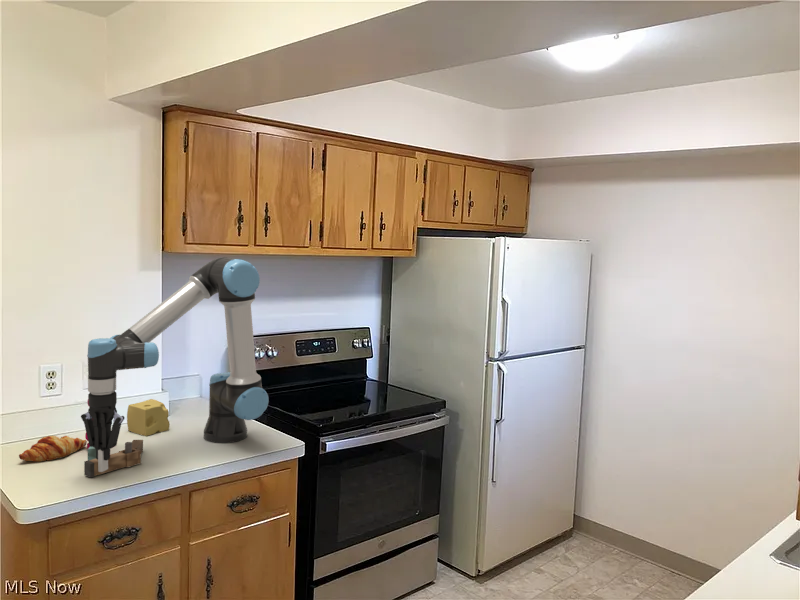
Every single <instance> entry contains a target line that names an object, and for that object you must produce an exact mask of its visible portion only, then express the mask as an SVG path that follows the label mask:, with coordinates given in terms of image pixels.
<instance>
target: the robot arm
mask: <svg viewBox="0 0 800 600" xmlns="http://www.w3.org/2000/svg"><path fill="white" fill-rule="evenodd" d="M258 271H259V270H258V269H257V267H255V266H254V265H253V264H252V263H251V262H249V261H247V260H244V259H241V258H230V257H225V256H224V257H218V258H214V259H212V260H211V261H209V262H207V263H206V264H204V265H203V266H202V267H200V268H199V269H198V270H196V271H195V272H194V273H193V274H192V275H190V276H189V279H188V281H187V282H186V283H185V284H184V285H183V286H181V287H180V288H179V289H177V290H176V291H175V292H174V293H172V294H171V295H170V296H168V297H167V298H166V299H165V300H163V301H162V302H161V303H159V304H158V305H157V306H156V307H154V308H153V309H151V310H150V311H149V312H148V313H147V314H146V315H144V316H143V317H142V318H140V319H139V320H138V321H137V322H135V323H134V324H132V326H130V327H129V328H127V329H126V330H125V331H124V332H122V333H121V334H114V335H112V336H111V337H110V338H108V337H106V338H103V337H102V338H94V339H91V340H90V341H89V342H88V344H87V355H86V356H87V372H88V373H87V374H88V376H87V391H88V392H89V393H88V394H87V395H88V396H87V402H88V403H87V406H88V405H89V406H90V407H89V406H88V407H89V408H88V410H87V412H85V413H83V414H81V415H80V418H81V420H82V421H83V424H84V428H85V434H86V433H87V437H88V441H87V443H89V446H90V447H94V448H95V449H96V459H97V460H98V472H104V471H105V470H107V469H108V460H109V459H110V454H111V449H113V448H114V447H116V446H117V444H118V439H119V435H120V431H121V427H122V423H123V421H124V420H125V416H124V415H120V414H119V413H118V410H117V408H116V405H117V402H118V401H117V397H118V395H117V392H116V390H117V371H124V370H135V369H147V368H151V367H156V365H157V364H158V362H159V360H160V359H159V356H160V352H159V348H158V345H157V344H156V343H154V342H152V341H153V340H154V339H156V338H157V337H158V336H159V335H160V334H162V333H163V332H165V330H167V329H168V328H169V327H171V326H172V325H173V324H174V323H175V322H177V321H178V320H179V319H181V317H183V316H184V315H185V314H187V313H188V312H189V311H190V310H192V309H193V308H195V306H197V305H198V304H199V303H200V302H201V301H203V300H204V299H208V300H209V299H210V298H211V297H212V296H214V295H216V294H218V301H219V303H220V304H222V306H223V307H224V318H225V319H224V320H225V330H226V341H227V353H228V364H229V365H228V366H229V371H228V372H218V373H214V374H212V375H211V376H210V379H209V383H208V384H209V405H208V406H209V407H208V418H207V421H206V423H205V426H204V429H203V439H205V440H206V441H208V442H212V443H221V444H223V443H224V444H226V443H235V442H240V441H243V440H245V439H246V438H247V437H248V427H247V425H246V421H253V420H257V419H258V418H260V417H261V416H262V415H263V414H264V412H265V411H266V410H267V408H268V405H269V402H270V401H269V399H270V398H269V394H268V393H267V391H266V390H265V389H264V388H263V386H262V385H263V384H262V377H261V375H260V374H258V373H257V364H256V355H255V354H256V353H255V352H256V351H255V343H254V330H253V328H254V327H253V315H252V303H253V302H254V301H255V299H256V297H255V296H256V295H255V293H256V292H257V290H258V288H259V286H260V281H261V280H260V279H261V278H260V274H259V272H258ZM245 420H246V421H245Z"/></svg>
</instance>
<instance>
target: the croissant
mask: <svg viewBox="0 0 800 600" xmlns="http://www.w3.org/2000/svg"><path fill="white" fill-rule="evenodd" d="M87 443H88V441H87V440H86V439H81V438H79V437H76V438H74V437H70V436H67V435H63V436H61V437H59V436H56V435H48V436H43V437H41V438H40V439H37V442H36V443H35V444H32V445H31V446H30V448H29V449H26V450H24V451H23V452H22V453H19V455H18V458H19V459H20V460H21V461H24V462H25V461H26V462H39V463H41V462H46V460H47V461H53V459H54V460H56V459H60V458H65V457H67V456H69V455H70V454H72V453H73V454H74V453H75V452H77V451H79V450H81V449H83V448H85V447H86V446H87Z"/></svg>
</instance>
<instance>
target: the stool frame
mask: <svg viewBox="0 0 800 600" xmlns="http://www.w3.org/2000/svg"><path fill="white" fill-rule="evenodd" d="M132 448H135V449H137V450H140V451H141V453H142V454H143V453H144V440H143V439H133V440H132V441H127V442H125V443H124V450H125V454H127V453H131V452H132ZM92 459H96V449H95V448H94V447H89V448H88V450H87V461H88V460H92Z"/></svg>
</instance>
